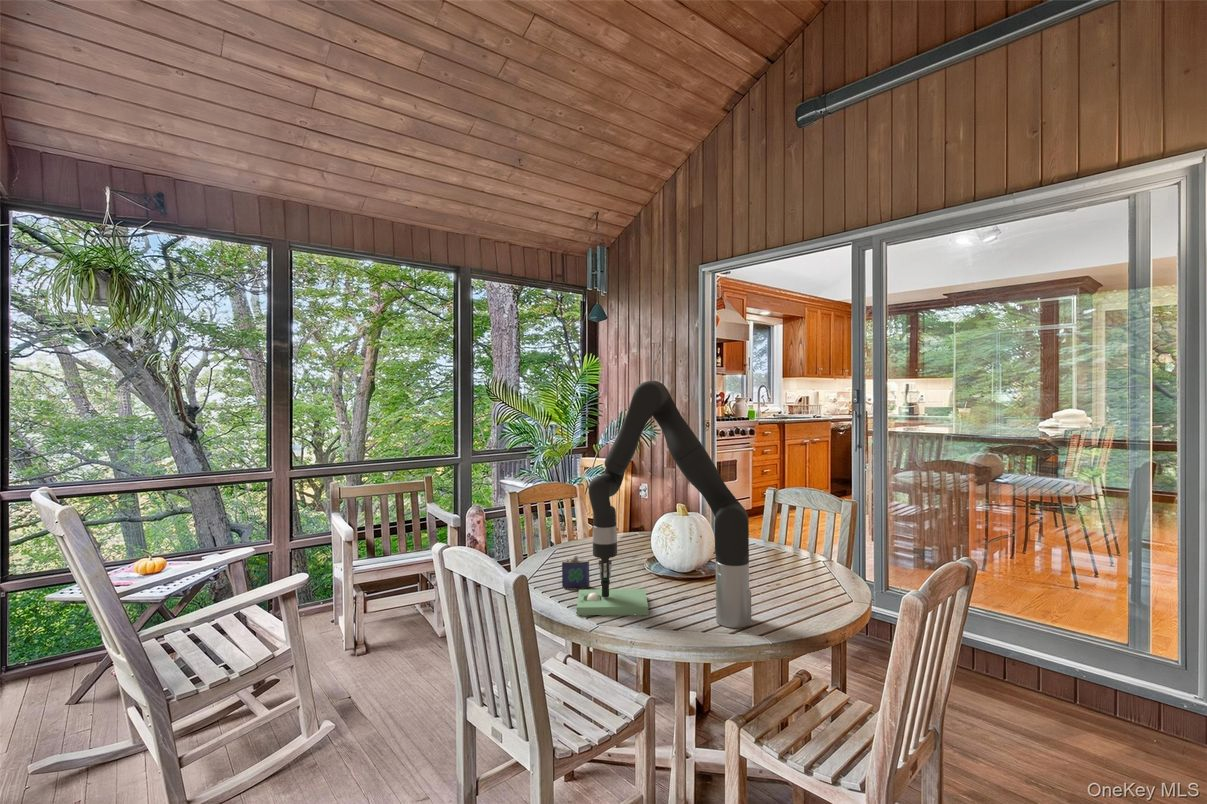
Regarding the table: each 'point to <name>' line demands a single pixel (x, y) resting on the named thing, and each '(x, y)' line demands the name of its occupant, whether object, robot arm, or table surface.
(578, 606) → the board
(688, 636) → the table surface
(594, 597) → the ball
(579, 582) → the flask
